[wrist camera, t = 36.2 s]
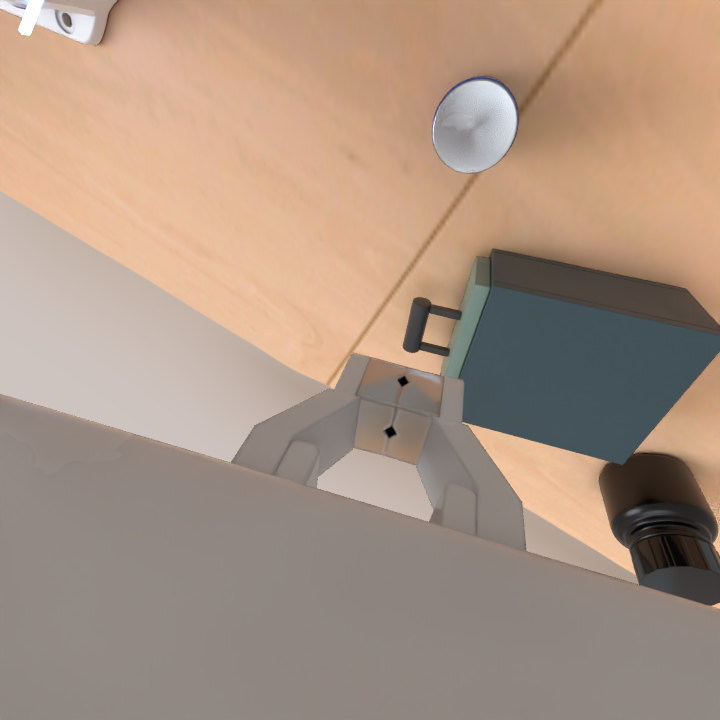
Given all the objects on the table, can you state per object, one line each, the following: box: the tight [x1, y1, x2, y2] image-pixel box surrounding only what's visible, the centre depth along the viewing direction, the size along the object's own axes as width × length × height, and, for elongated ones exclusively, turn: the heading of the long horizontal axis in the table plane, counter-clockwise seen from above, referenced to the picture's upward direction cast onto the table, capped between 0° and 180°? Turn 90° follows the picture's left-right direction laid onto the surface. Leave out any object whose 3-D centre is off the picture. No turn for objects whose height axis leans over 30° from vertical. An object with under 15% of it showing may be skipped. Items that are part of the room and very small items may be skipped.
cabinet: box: [458, 249, 720, 465], centre depth 34 cm, size 16×14×8 cm
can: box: [432, 76, 519, 174], centre depth 25 cm, size 5×5×8 cm
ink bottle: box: [599, 454, 720, 606], centre depth 39 cm, size 10×9×12 cm
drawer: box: [403, 256, 491, 379], centre depth 34 cm, size 19×12×6 cm, turn 83°
